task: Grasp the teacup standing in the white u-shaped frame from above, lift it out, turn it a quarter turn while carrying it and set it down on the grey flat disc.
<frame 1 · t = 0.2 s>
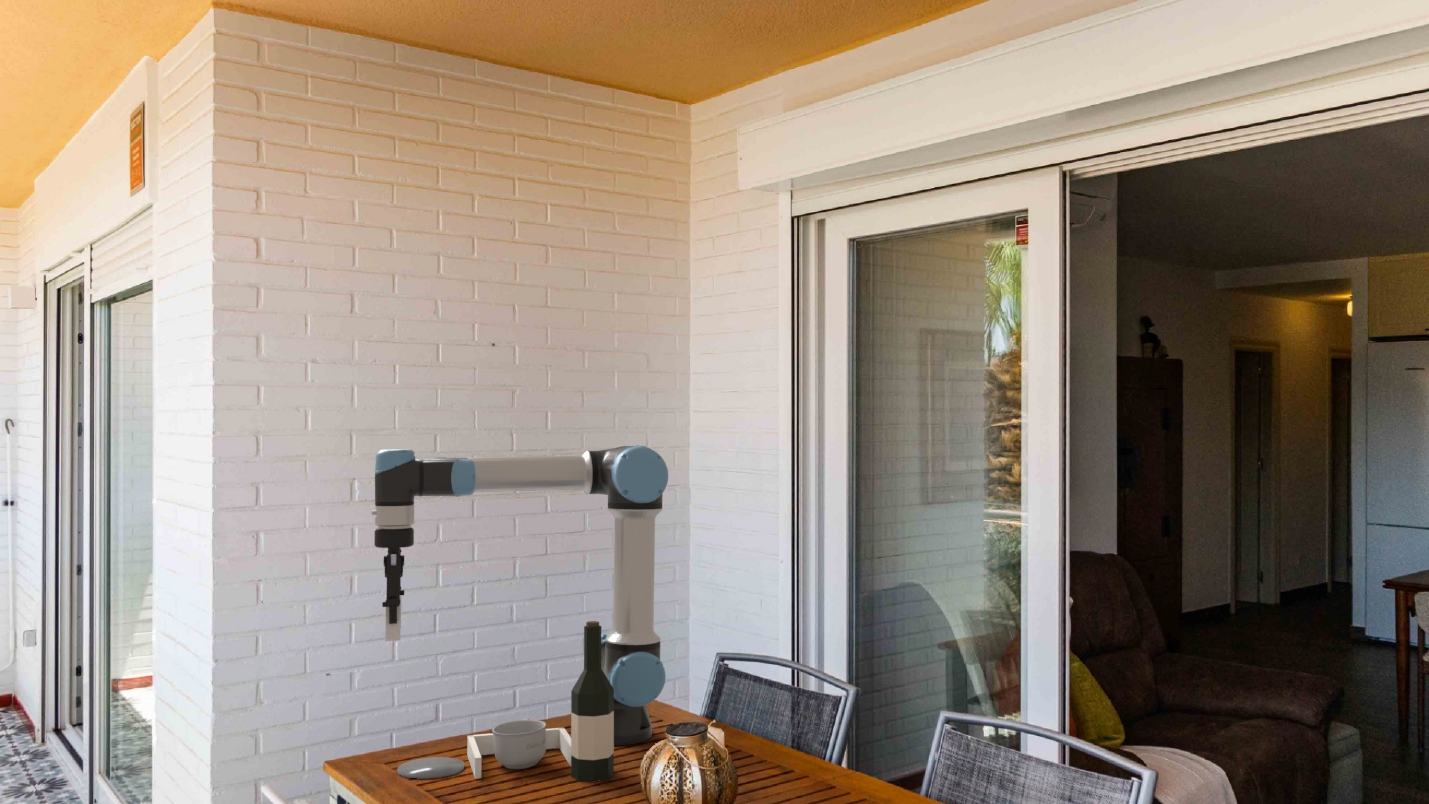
hand: (393, 634, 215), 27 cm above the table, tool pointing down, fingers open, 13 cm apart
white u-shaped frame: (522, 762, 222), on the table
teacup: (522, 763, 222), on the table
wine bottle: (592, 776, 213), on the table
grey flat disc: (431, 769, 217), on the table
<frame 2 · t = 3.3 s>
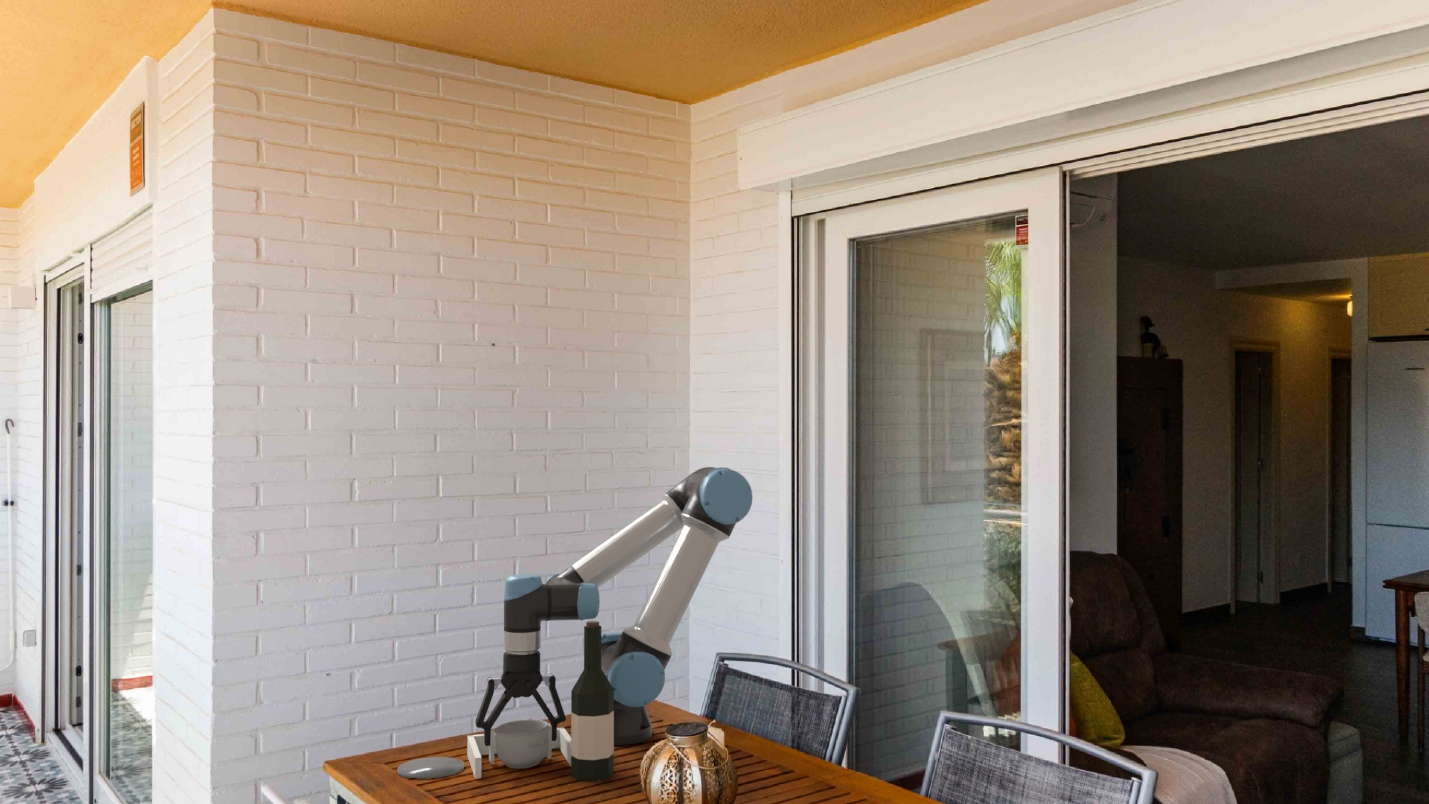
hand: (520, 759, 222), 1 cm above the table, tool pointing down, fingers closed on teacup, 11 cm apart
teacup: (524, 763, 222), on the table, touching gripper
everything else where it was.
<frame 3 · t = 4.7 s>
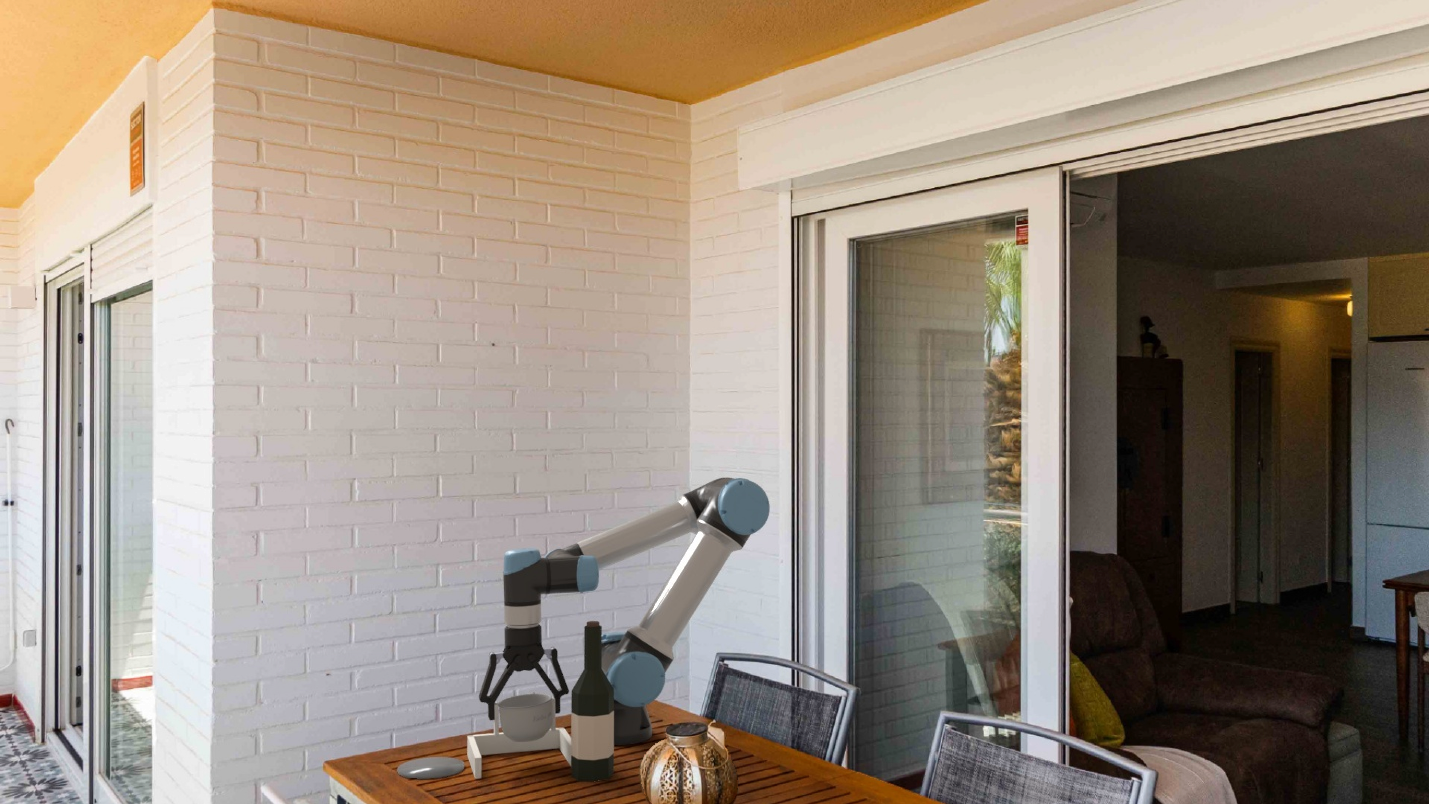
hand: (524, 732, 222), 6 cm above the table, tool pointing down, fingers closed on teacup, 11 cm apart
teacup: (528, 737, 222), point 5 cm above the table, touching gripper
everything else where it was.
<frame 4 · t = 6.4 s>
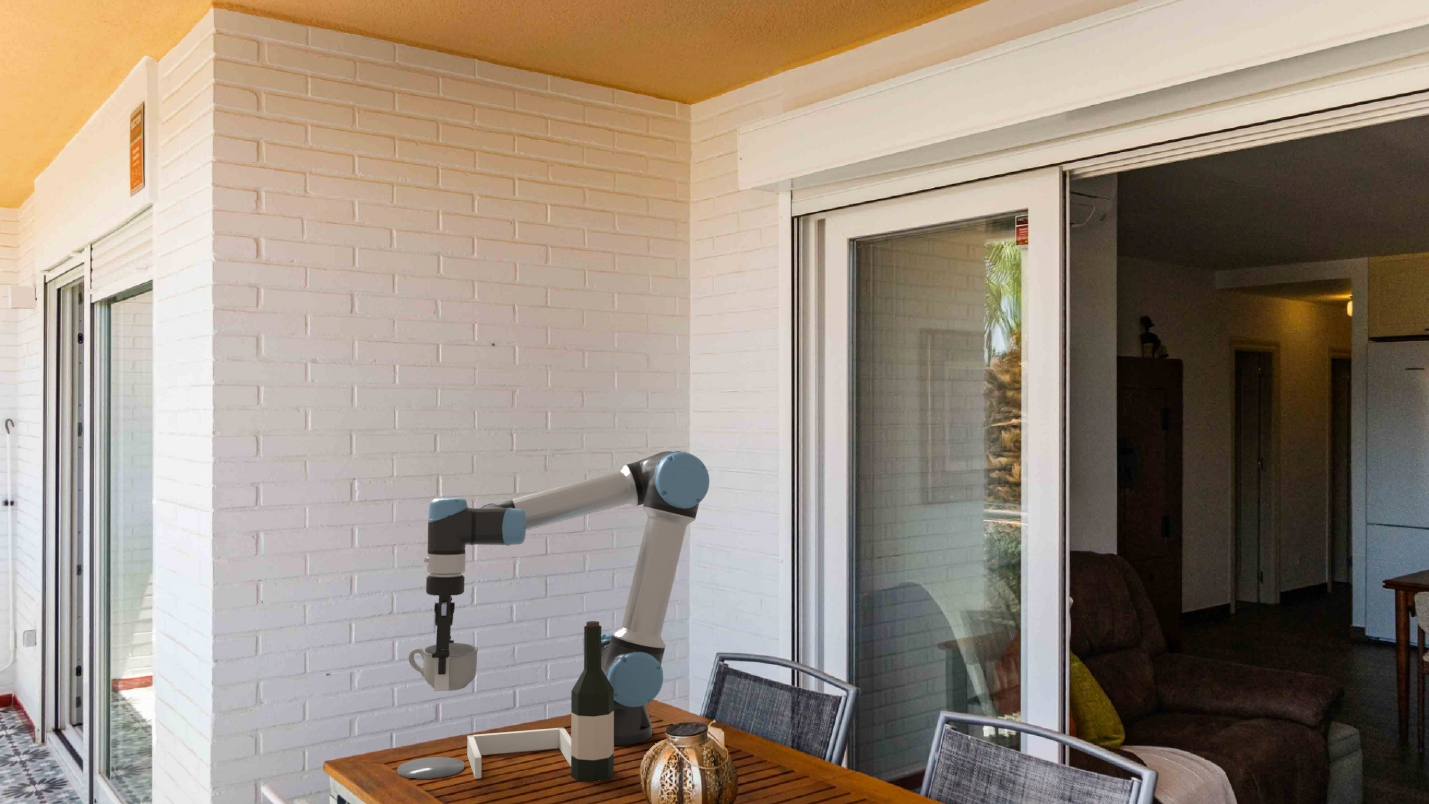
hand: (442, 684, 218), 17 cm above the table, tool pointing down, fingers closed on teacup, 11 cm apart
teacup: (442, 687, 219), point 16 cm above the table, touching gripper
everything else where it was.
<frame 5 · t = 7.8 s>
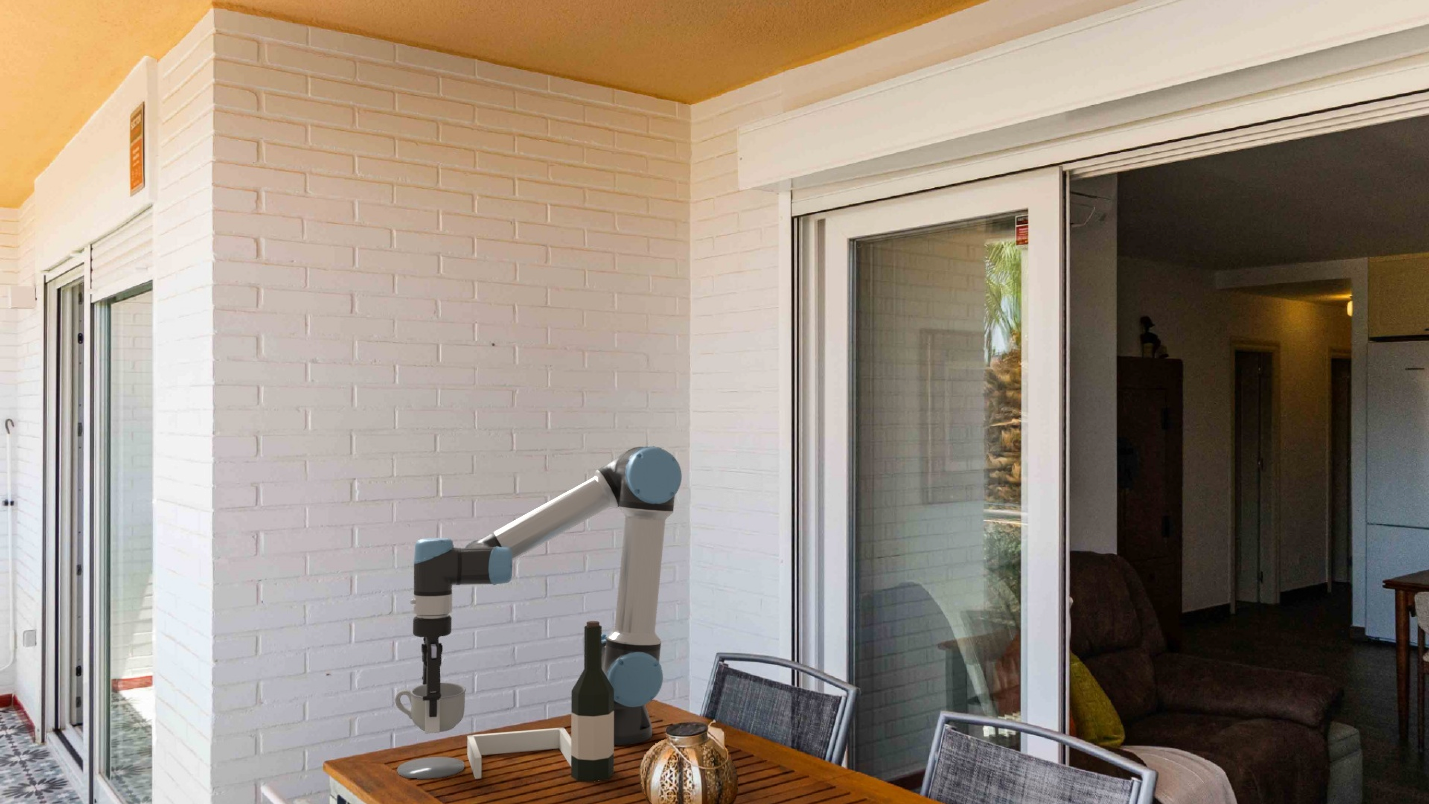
hand: (430, 725, 217), 9 cm above the table, tool pointing down, fingers closed on teacup, 11 cm apart
teacup: (430, 729, 218), point 8 cm above the table, touching gripper
everything else where it was.
when the fingers open (3 cm above the table, at t = 9.3 s): teacup drops 1 cm, resting on grey flat disc.
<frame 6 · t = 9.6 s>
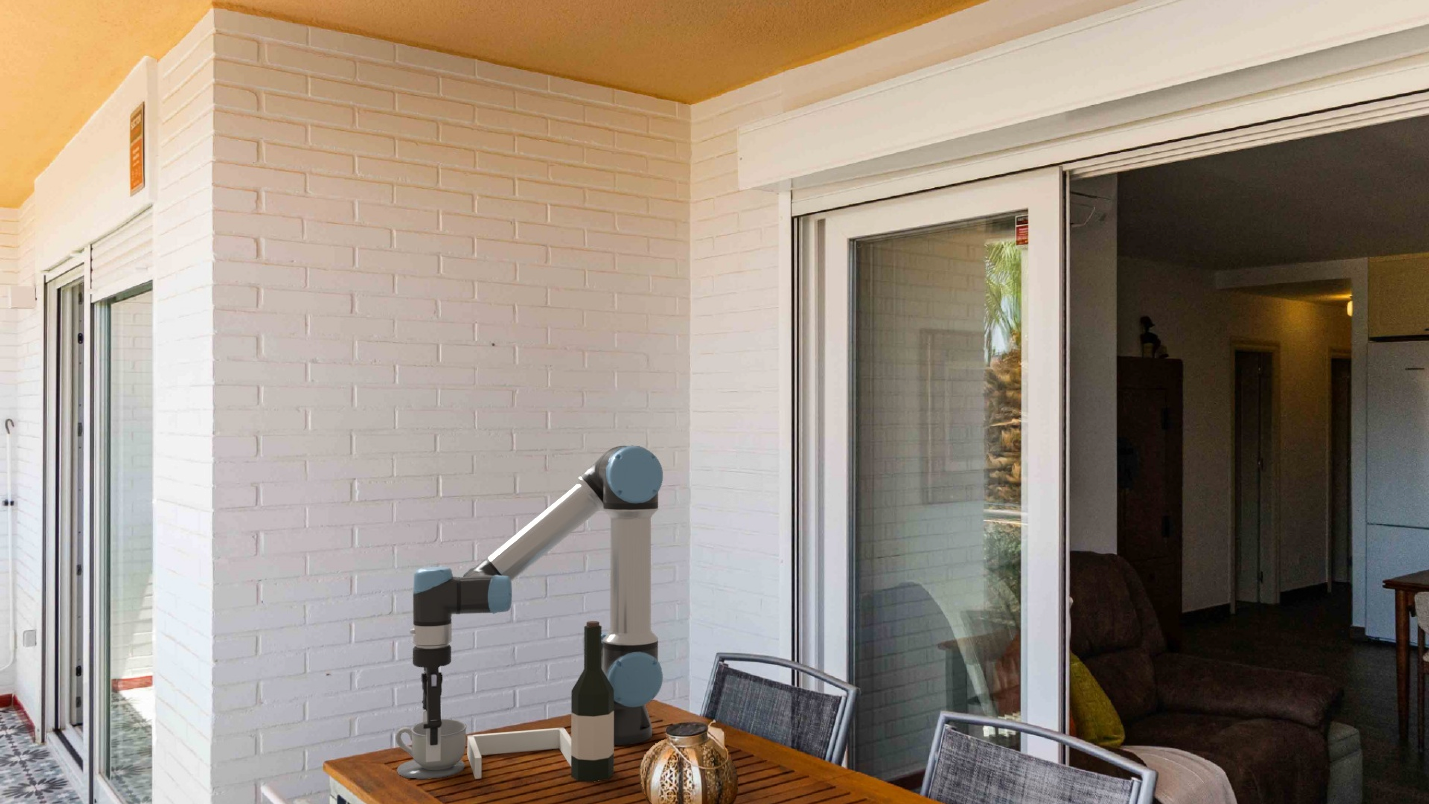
hand: (431, 751, 217), 3 cm above the table, tool pointing down, fingers open, 13 cm apart
teacup: (431, 766, 218), resting on grey flat disc
everything else where it was.
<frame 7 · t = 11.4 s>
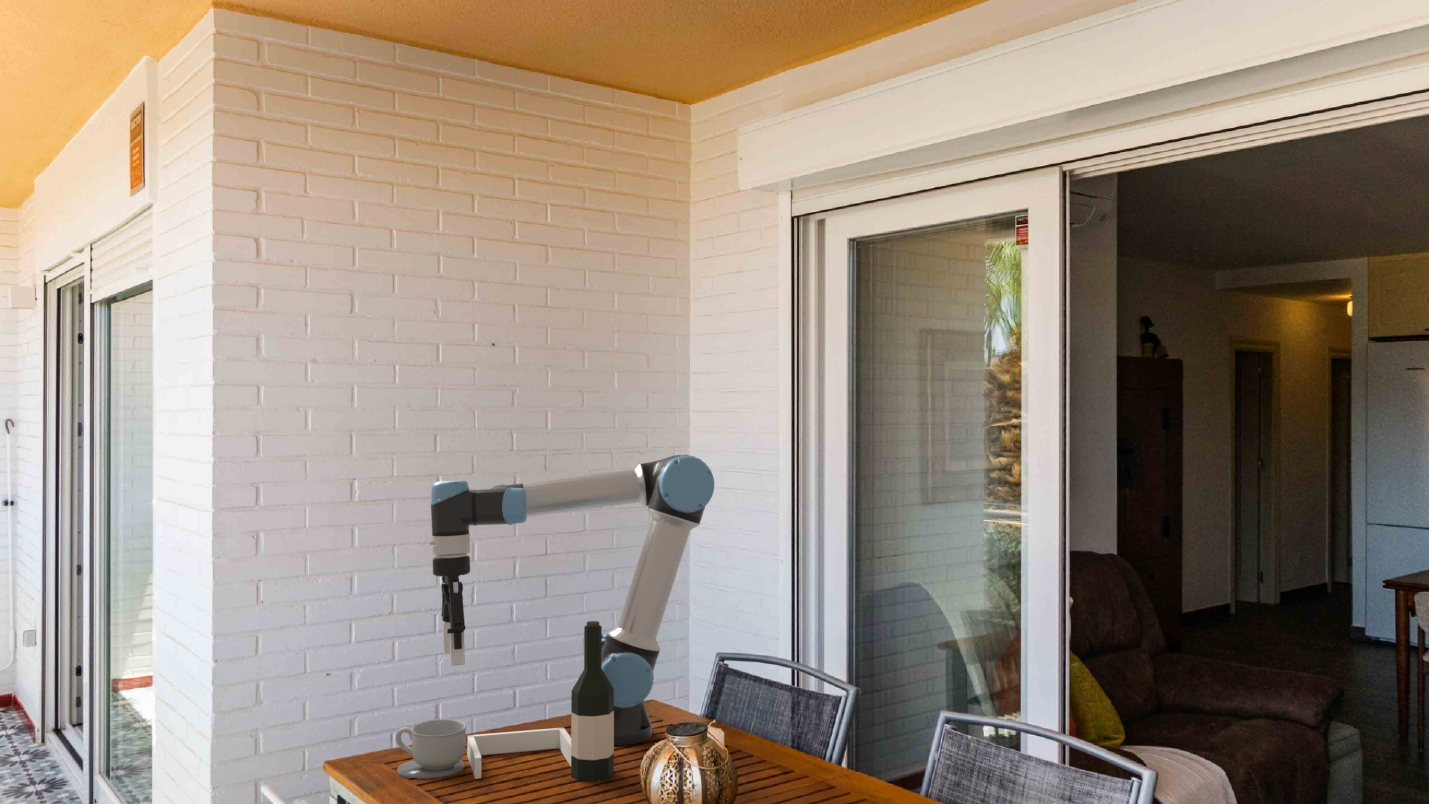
hand: (453, 659, 223), 21 cm above the table, tool pointing down, fingers open, 13 cm apart
nothing on the table moved.
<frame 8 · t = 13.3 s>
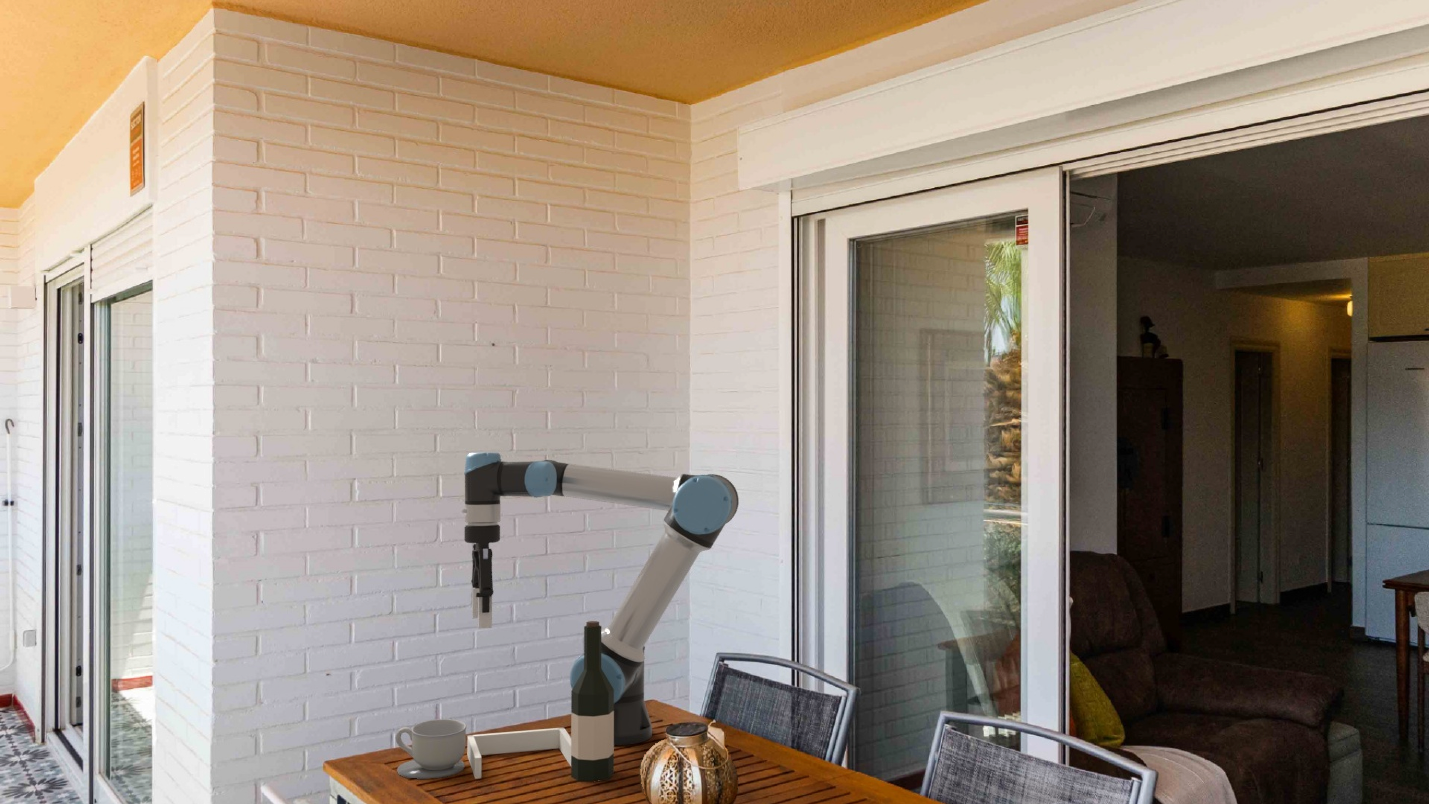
hand: (481, 623, 233), 27 cm above the table, tool pointing down, fingers open, 13 cm apart
nothing on the table moved.
at the end: teacup inside the target area on the grey flat disc (0.5 cm from its centre), point 0.4 cm above the grey flat disc's base; teacup tilted 0°; the gripper is holding nothing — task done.
